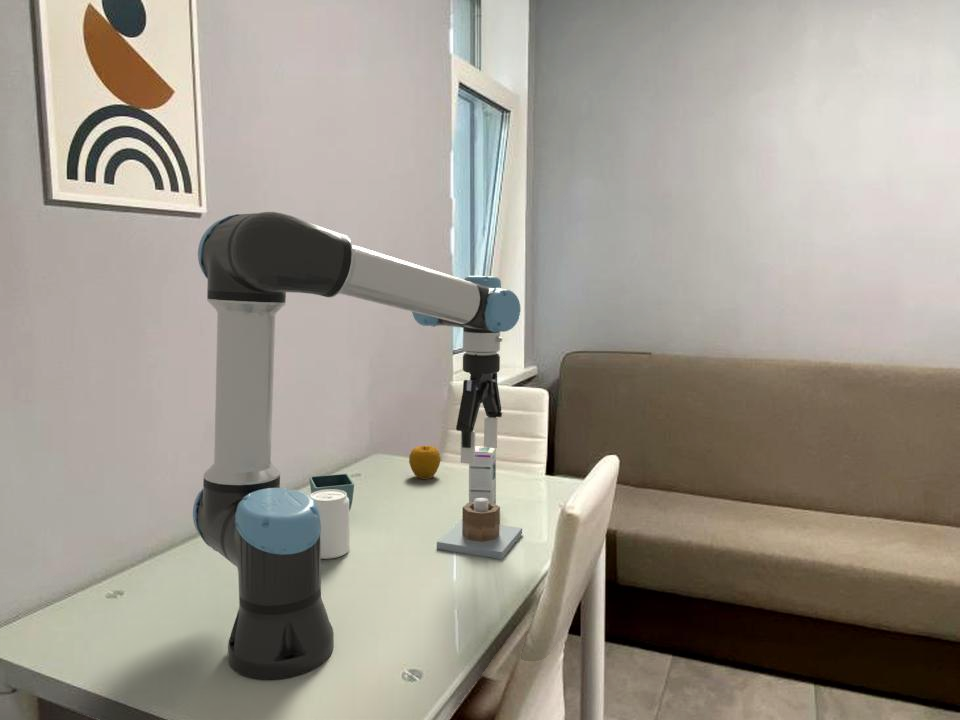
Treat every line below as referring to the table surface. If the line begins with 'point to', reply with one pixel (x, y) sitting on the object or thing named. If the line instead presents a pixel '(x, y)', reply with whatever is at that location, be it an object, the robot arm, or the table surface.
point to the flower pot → (333, 484)
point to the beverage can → (333, 522)
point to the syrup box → (483, 475)
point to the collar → (481, 522)
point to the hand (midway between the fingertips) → (479, 455)
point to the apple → (424, 461)
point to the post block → (486, 548)
